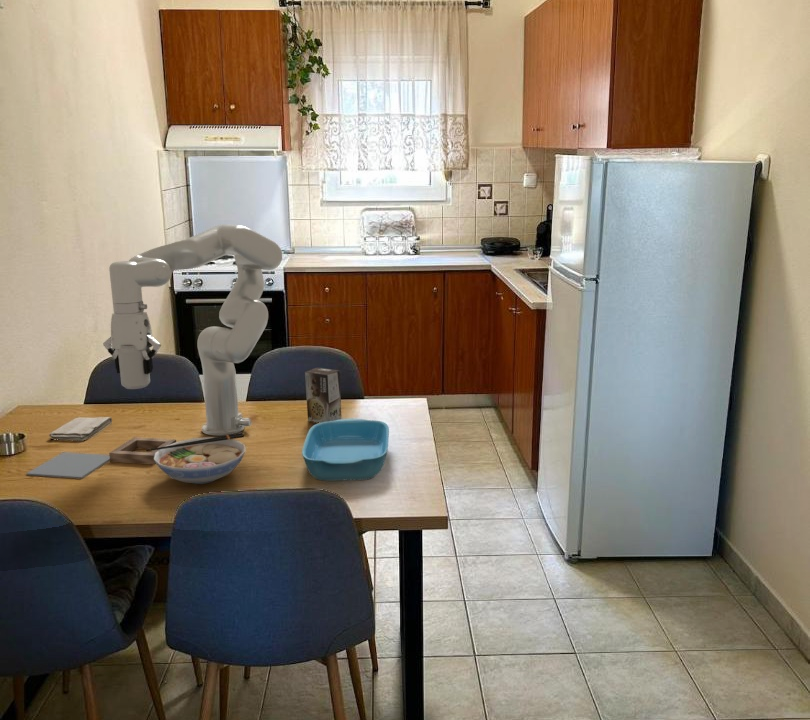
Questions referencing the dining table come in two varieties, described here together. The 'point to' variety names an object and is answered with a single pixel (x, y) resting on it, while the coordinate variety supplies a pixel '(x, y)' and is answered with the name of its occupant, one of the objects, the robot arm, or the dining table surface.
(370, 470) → the casserole dish
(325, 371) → the coffee box
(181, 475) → the ramen bowl
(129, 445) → the shallow wooden tray
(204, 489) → the dining table surface
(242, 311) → the robot arm
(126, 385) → the can
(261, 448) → the dining table surface
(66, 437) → the washcloth
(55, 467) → the grey mat
